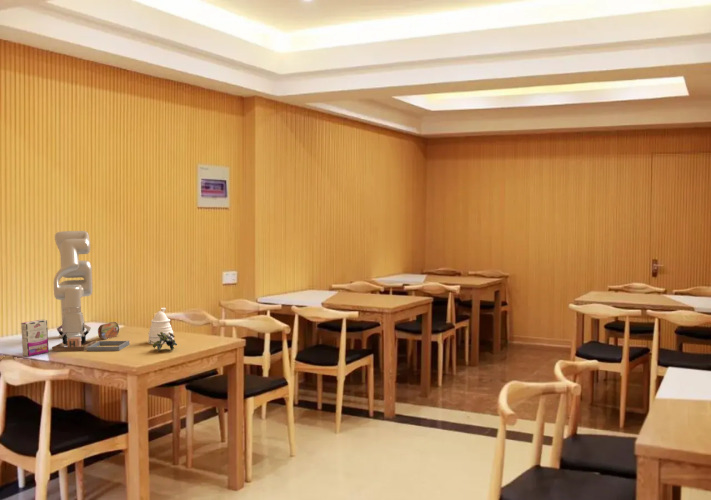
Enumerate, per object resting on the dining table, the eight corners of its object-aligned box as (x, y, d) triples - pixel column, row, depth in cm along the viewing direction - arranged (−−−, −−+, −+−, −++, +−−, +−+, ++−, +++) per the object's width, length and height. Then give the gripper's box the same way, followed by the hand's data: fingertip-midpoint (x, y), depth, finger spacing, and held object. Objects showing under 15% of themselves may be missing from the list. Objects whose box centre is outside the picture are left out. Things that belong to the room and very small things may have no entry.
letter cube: (71, 347, 352) (71, 337, 352) (81, 346, 352) (80, 337, 352) (67, 349, 347) (67, 339, 347) (77, 348, 347) (76, 339, 347)
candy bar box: (43, 351, 341) (41, 319, 340) (49, 352, 338) (47, 320, 337) (21, 355, 331) (20, 322, 330) (28, 356, 328) (26, 323, 327)
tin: (101, 340, 369) (101, 325, 368) (97, 340, 370) (96, 325, 369) (119, 335, 383) (119, 320, 383) (115, 335, 384) (114, 320, 384)
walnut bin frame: (65, 344, 357) (65, 341, 357) (95, 344, 358) (95, 340, 357) (52, 351, 341) (51, 347, 341) (83, 350, 342) (83, 346, 342)
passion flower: (171, 360, 343) (183, 341, 340) (154, 360, 334) (166, 341, 331) (160, 345, 349) (172, 327, 346) (143, 345, 340) (155, 326, 337)
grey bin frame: (98, 344, 357) (98, 341, 356) (129, 344, 357) (129, 340, 357) (87, 351, 341) (87, 347, 341) (119, 350, 341) (118, 346, 341)
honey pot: (163, 338, 372) (162, 306, 371) (178, 341, 364) (177, 308, 363) (143, 342, 361) (142, 309, 360) (159, 345, 354) (158, 311, 353)
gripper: (53, 311, 345) (54, 345, 346) (87, 311, 345) (88, 345, 346) (59, 309, 352) (60, 342, 353) (92, 309, 352) (93, 342, 353)
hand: (74, 343), depth 349 cm, fingers open, 8 cm apart
